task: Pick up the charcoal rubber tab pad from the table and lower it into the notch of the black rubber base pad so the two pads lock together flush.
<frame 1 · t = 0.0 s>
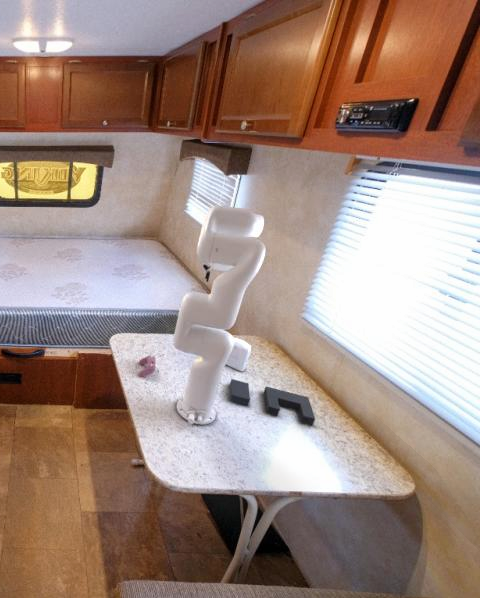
hand: (219, 283, 148), 31 cm above the table, tool pointing down, fingers open, 9 cm apart
base pad: (286, 408, 127), on the table
tab pad: (238, 395, 132), on the table
video game controller: (146, 371, 142), on the table
photo printer: (231, 365, 149), on the table
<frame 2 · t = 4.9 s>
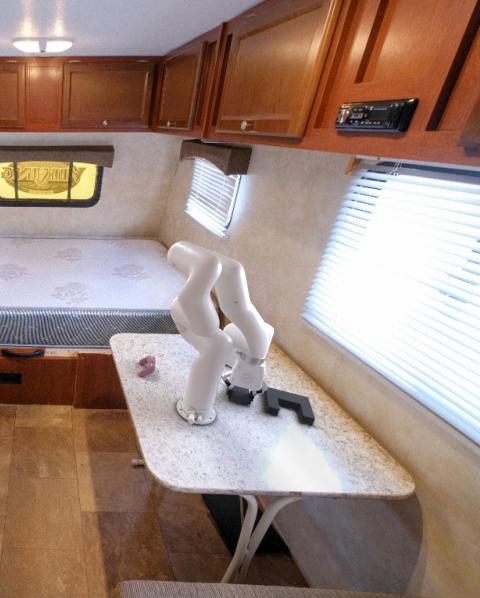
hand: (238, 399, 129), 1 cm above the table, tool pointing down, fingers closed on tab pad, 6 cm apart
tab pad: (238, 395, 132), on the table, touching gripper
everything else where it was.
when the fingers open (0 cm above the table, at t = 10.6 s): tab pad stays where it is, on the table.
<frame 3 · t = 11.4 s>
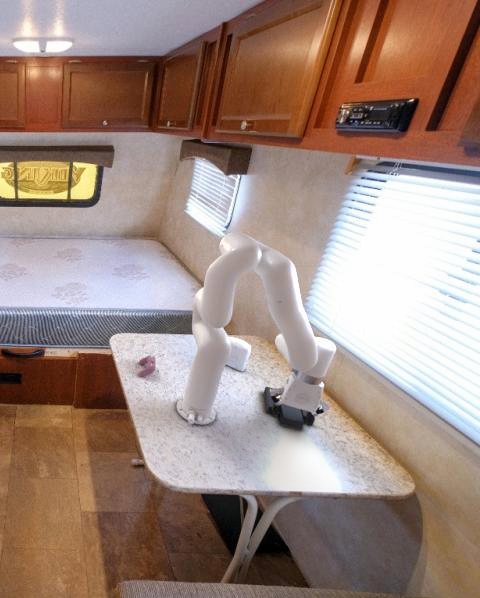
hand: (290, 417, 119), 2 cm above the table, tool pointing down, fingers open, 9 cm apart
tab pad: (288, 417, 123), on the table
everything else where it was.
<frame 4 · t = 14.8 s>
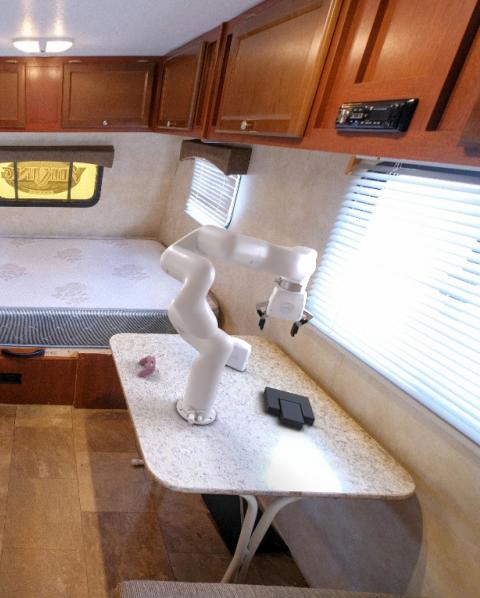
hand: (276, 331, 122), 26 cm above the table, tool pointing down, fingers open, 9 cm apart
nothing on the table moved.
at the end: tab pad 0.2 cm from the target spot on the base pad, point 0.0 cm above the base pad's base; tab pad tilted 0°; the gripper is holding nothing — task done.
